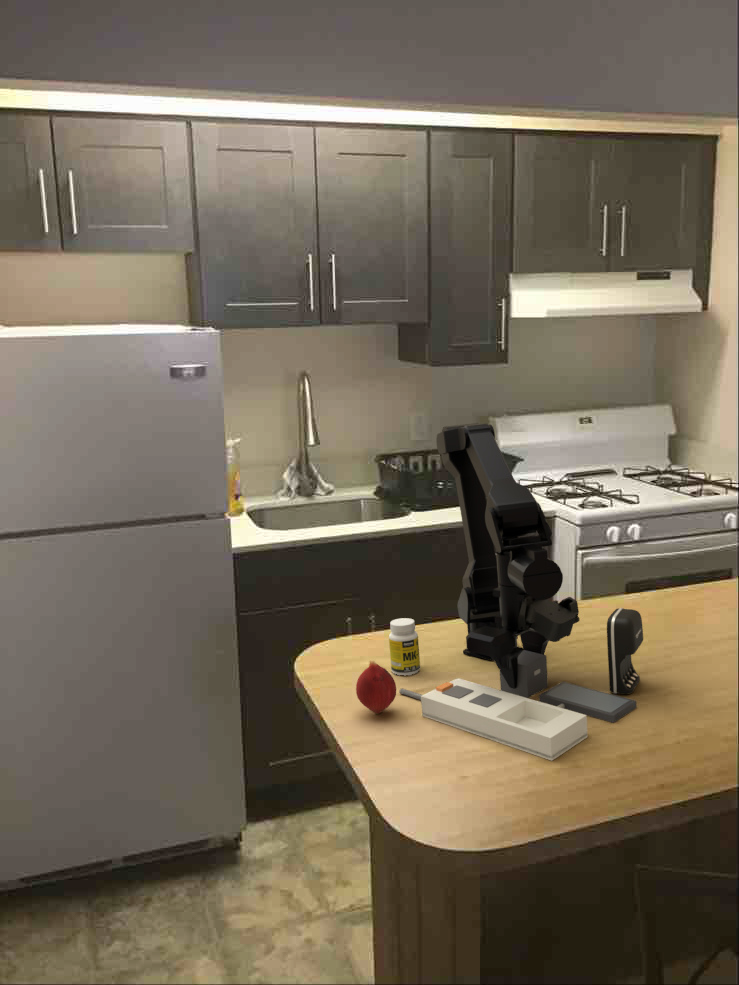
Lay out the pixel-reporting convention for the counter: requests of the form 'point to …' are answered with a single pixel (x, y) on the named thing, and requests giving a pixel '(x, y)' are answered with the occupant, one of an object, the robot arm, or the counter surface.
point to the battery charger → (623, 649)
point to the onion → (376, 688)
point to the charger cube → (528, 675)
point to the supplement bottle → (404, 647)
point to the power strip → (504, 717)
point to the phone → (588, 701)
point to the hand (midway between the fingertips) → (524, 682)
